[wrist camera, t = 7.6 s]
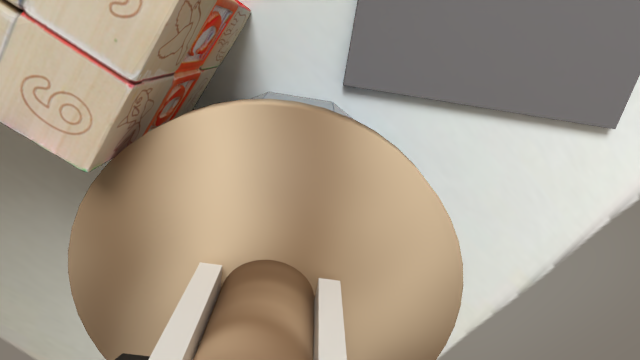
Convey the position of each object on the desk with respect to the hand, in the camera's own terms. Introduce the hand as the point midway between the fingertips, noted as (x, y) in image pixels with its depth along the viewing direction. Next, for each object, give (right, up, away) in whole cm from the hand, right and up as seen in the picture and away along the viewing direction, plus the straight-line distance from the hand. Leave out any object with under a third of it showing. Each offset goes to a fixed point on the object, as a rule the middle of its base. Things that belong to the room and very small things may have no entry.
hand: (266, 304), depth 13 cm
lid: (0, 0, +1) cm, 1 cm away
